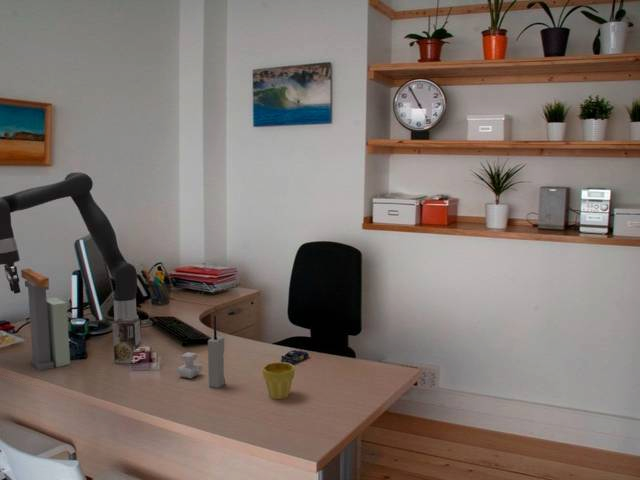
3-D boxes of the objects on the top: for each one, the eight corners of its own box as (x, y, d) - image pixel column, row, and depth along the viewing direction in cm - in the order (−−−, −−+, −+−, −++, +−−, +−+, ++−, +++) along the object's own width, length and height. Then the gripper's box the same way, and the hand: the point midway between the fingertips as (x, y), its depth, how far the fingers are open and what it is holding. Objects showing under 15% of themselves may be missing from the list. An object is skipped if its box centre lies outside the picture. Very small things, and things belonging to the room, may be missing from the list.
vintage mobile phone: (225, 383, 215) (224, 314, 212) (218, 388, 211) (216, 317, 207) (215, 382, 217) (214, 313, 213) (208, 387, 212) (207, 316, 208)
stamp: (205, 375, 223) (204, 353, 222) (194, 381, 217) (193, 358, 216) (185, 371, 227) (184, 349, 226) (173, 377, 221) (173, 354, 220)
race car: (298, 354, 248) (298, 343, 247) (312, 357, 245) (313, 346, 244) (277, 365, 235) (277, 354, 234) (292, 368, 232) (292, 357, 231)
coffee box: (143, 358, 241) (141, 318, 239) (136, 364, 235) (135, 323, 233) (120, 357, 242) (118, 318, 240) (113, 363, 236) (111, 322, 233)
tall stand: (43, 359, 240) (38, 279, 235) (53, 367, 231) (48, 284, 226) (30, 362, 237) (24, 280, 232) (39, 370, 228) (34, 286, 223)
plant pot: (282, 404, 198) (282, 374, 197) (257, 397, 203) (256, 368, 202) (300, 393, 207) (300, 365, 205) (275, 387, 212) (275, 359, 211)
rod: (29, 276, 241) (29, 268, 240) (49, 286, 223) (48, 278, 222) (21, 277, 239) (20, 269, 238) (40, 287, 221) (39, 279, 220)
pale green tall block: (59, 356, 244) (56, 297, 240) (70, 364, 235) (66, 302, 231) (46, 358, 241) (42, 299, 237) (56, 367, 232) (52, 304, 228)
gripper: (20, 249, 230) (29, 291, 232) (14, 247, 242) (23, 287, 244) (-2, 253, 226) (7, 296, 228) (-7, 251, 238) (2, 292, 240)
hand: (15, 291), depth 236 cm, fingers open, 8 cm apart
